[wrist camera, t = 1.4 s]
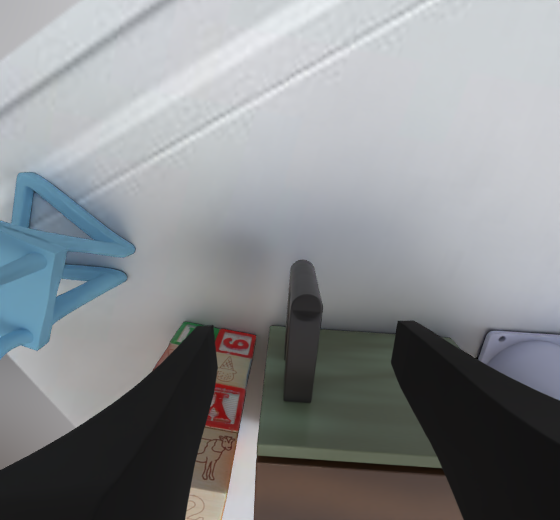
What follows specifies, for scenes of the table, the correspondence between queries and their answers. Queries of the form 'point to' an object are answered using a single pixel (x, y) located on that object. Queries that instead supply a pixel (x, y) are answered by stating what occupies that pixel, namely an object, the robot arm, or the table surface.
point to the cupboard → (350, 491)
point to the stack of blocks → (218, 420)
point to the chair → (48, 266)
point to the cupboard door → (334, 390)
